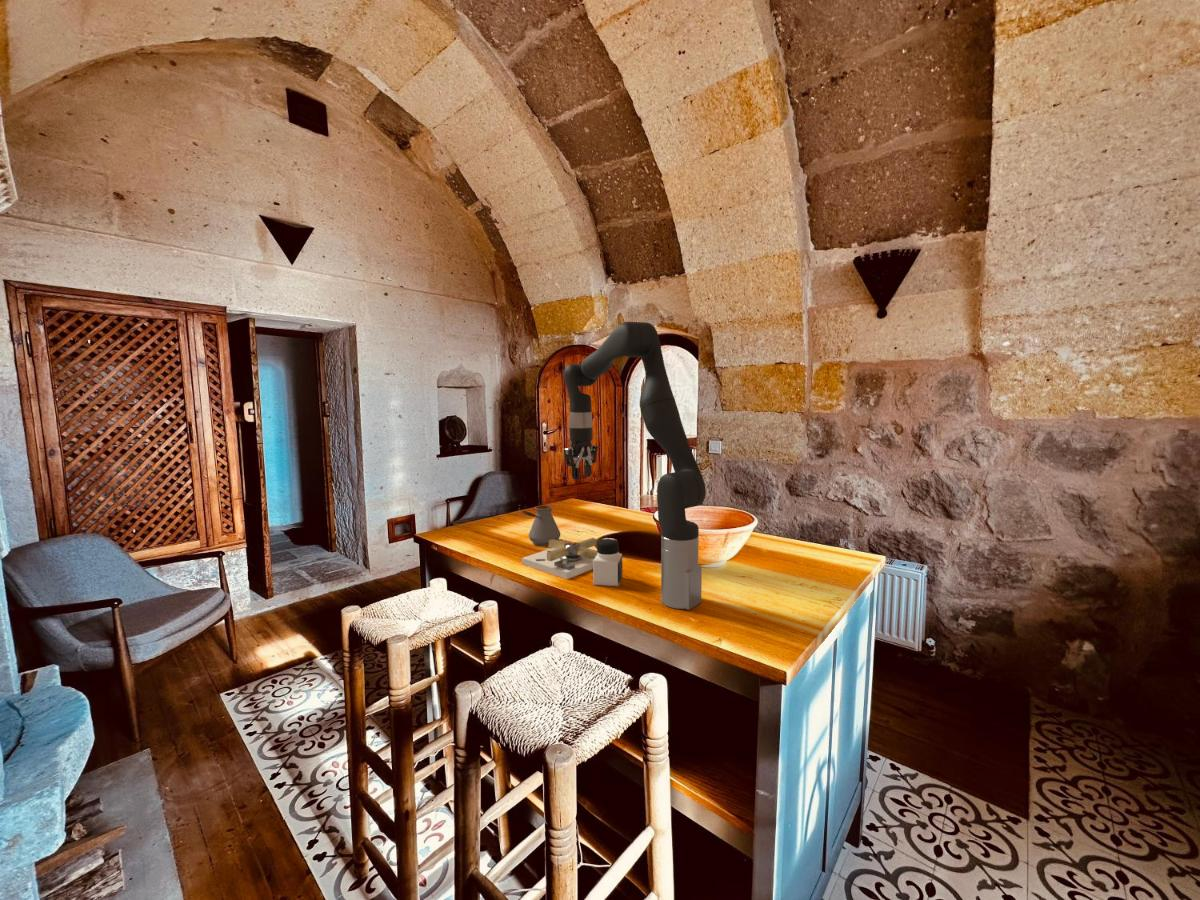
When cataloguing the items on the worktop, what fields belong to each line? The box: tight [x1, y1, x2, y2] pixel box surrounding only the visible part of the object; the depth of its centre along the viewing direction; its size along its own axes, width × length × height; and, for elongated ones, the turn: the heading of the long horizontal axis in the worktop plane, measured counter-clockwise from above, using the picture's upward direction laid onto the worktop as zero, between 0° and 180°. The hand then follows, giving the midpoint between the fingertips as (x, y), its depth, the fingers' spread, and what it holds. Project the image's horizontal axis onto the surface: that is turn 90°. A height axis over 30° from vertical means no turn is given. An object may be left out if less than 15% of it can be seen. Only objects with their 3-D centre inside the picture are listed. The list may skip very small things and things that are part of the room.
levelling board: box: [521, 547, 594, 580], centre depth 155 cm, size 20×19×4 cm
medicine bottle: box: [592, 537, 623, 587], centre depth 139 cm, size 7×7×12 cm
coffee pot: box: [518, 505, 561, 546], centre depth 172 cm, size 21×12×15 cm, turn 159°
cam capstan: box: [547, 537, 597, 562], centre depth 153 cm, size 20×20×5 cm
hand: (581, 477), depth 162 cm, fingers open, 5 cm apart
